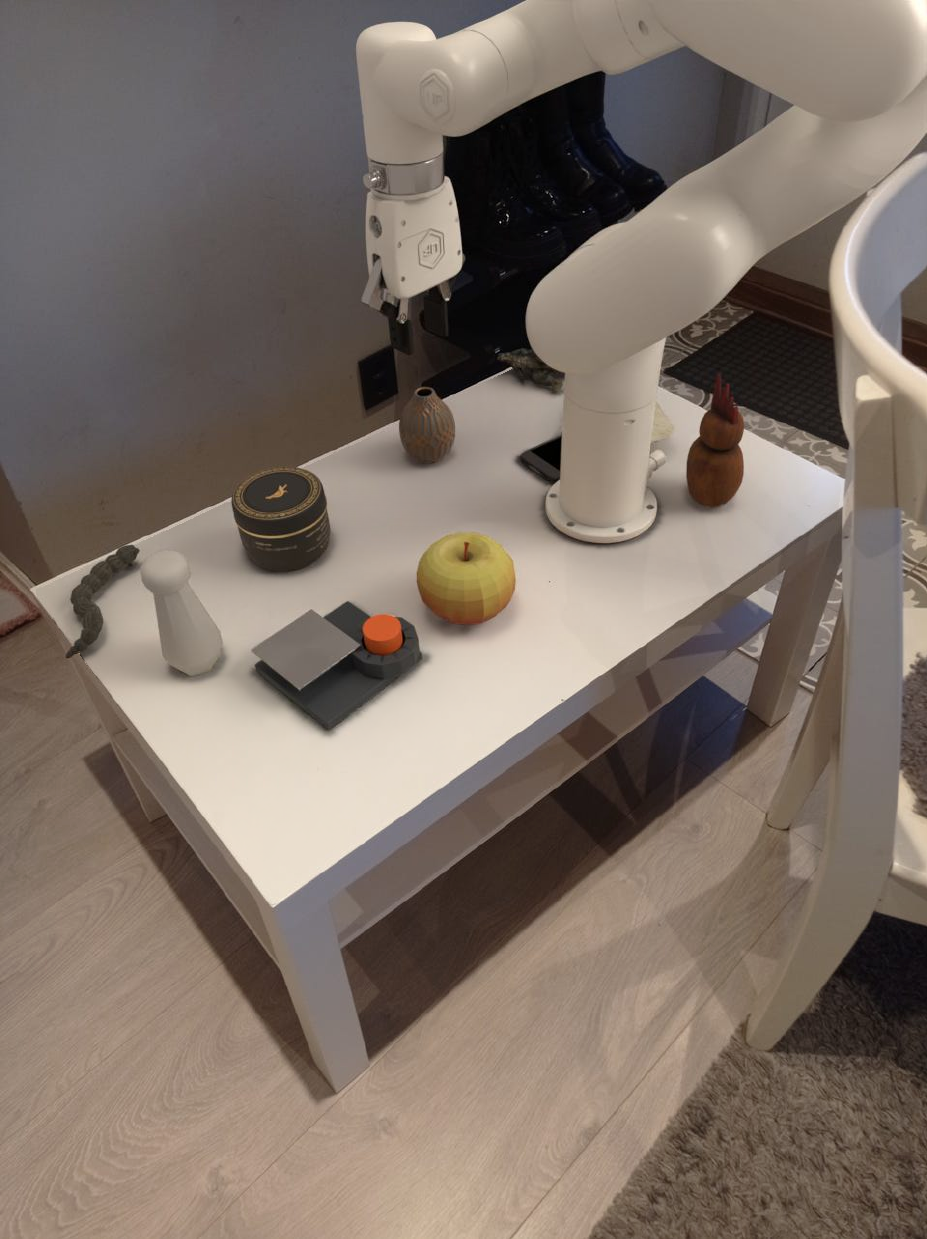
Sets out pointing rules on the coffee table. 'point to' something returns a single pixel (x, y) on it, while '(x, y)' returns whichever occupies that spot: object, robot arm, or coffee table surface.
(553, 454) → the smartphone
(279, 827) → the coffee table surface
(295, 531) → the jar
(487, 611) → the apple
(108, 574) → the toy
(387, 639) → the button
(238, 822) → the coffee table surface
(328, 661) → the plate
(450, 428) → the vase
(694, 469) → the wooden figurine
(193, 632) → the salt shaker
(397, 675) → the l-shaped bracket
